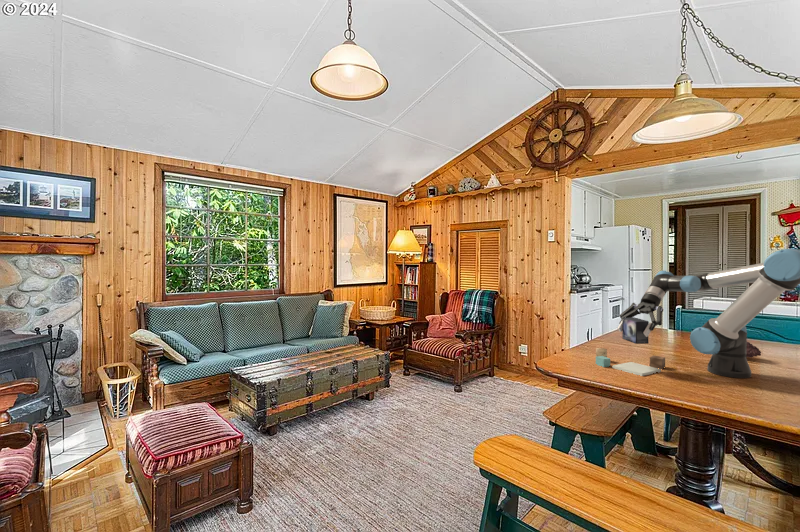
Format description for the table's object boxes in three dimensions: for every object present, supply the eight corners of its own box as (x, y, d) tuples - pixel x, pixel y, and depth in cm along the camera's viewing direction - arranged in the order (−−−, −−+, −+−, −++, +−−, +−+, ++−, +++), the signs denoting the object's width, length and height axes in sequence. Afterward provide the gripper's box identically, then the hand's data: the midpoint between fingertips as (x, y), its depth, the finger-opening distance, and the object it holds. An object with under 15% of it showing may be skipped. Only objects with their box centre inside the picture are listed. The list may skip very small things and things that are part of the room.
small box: (621, 338, 185) (621, 317, 184) (634, 338, 185) (634, 317, 185) (635, 344, 174) (635, 321, 174) (649, 343, 174) (649, 321, 174)
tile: (660, 371, 176) (660, 369, 176) (641, 376, 170) (641, 373, 170) (631, 364, 189) (631, 361, 189) (612, 368, 183) (612, 365, 183)
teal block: (610, 366, 185) (610, 358, 185) (603, 367, 184) (603, 359, 184) (602, 364, 190) (602, 356, 190) (595, 364, 189) (595, 356, 189)
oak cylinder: (609, 361, 194) (609, 349, 194) (602, 362, 192) (602, 350, 192) (600, 359, 199) (600, 347, 199) (593, 360, 197) (593, 348, 197)
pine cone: (768, 362, 190) (768, 342, 189) (750, 363, 188) (751, 343, 188) (732, 353, 207) (732, 335, 207) (716, 354, 206) (716, 336, 205)
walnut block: (665, 367, 183) (665, 357, 183) (661, 369, 180) (662, 359, 180) (653, 365, 187) (653, 355, 187) (649, 367, 184) (649, 357, 183)
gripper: (682, 305, 175) (662, 342, 169) (631, 300, 197) (611, 332, 190) (676, 295, 172) (655, 331, 166) (625, 290, 194) (604, 323, 188)
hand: (631, 332), depth 178 cm, fingers closed on small box, 12 cm apart
